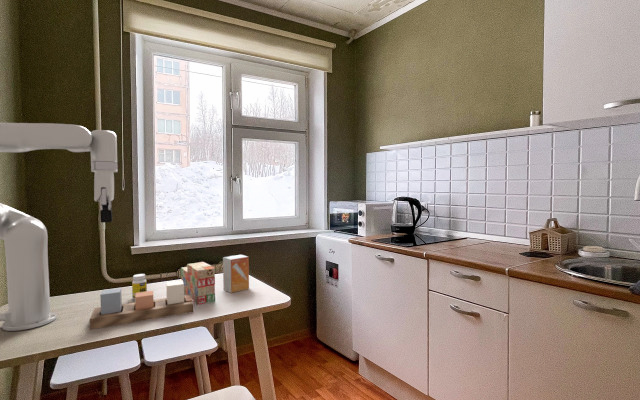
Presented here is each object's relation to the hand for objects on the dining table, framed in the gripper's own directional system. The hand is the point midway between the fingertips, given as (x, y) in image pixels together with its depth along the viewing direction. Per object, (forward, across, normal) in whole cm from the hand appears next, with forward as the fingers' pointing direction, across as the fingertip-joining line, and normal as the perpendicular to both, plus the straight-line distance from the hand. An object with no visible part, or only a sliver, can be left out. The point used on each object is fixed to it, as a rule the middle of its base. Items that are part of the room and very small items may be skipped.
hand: (106, 221), depth 115 cm
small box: (+29, +1, +43) cm, 52 cm away
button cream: (+26, +14, +20) cm, 36 cm away
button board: (+29, +14, +11) cm, 34 cm away
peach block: (+28, +15, +11) cm, 34 cm away
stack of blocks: (+30, +2, +28) cm, 41 cm away
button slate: (+26, +15, +2) cm, 30 cm away
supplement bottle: (+29, -6, +9) cm, 31 cm away
